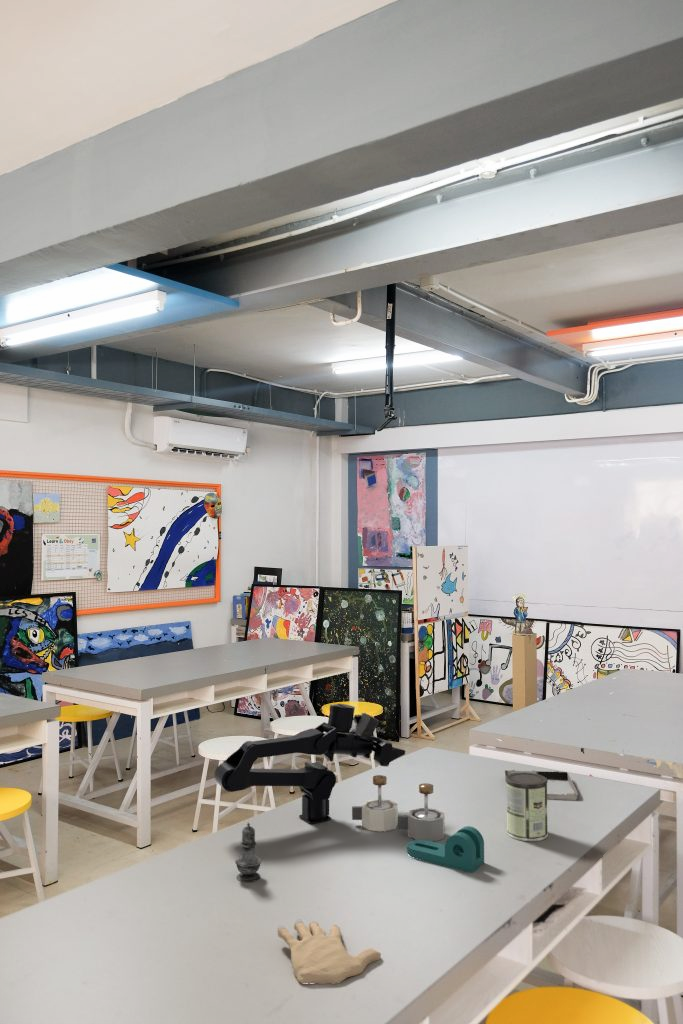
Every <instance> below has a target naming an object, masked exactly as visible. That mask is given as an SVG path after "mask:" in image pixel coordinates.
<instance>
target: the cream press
mask: <svg viewBox="0 0 683 1024" xmlns="http://www.w3.org/2000/svg"><path fill="white" fill-rule="evenodd" d="M372 802H378V798H375V799H370V800H364V802H363V804H361V805H359V806H356V805H355V806H354V805H353V806H351V820H352V821H354V820H355V821H361V827H363V828H364V829H366V830H368V831H370V830H372V831H373V832H382V831H384V832H388V831H392V830H391V829H393V830H395V829H396V828H397V827H398V824H397V823H398V811H399V809H398V808H399V807H398V803H396V802H394V801H392V800H390V799H381V802H386V803H389V804H390V809H385V810H376V809H370V808H369V804H370V803H372ZM394 828H395V829H394ZM387 830H388V831H387ZM372 831H371V832H372Z"/></svg>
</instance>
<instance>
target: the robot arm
mask: <svg viewBox="0 0 683 1024" xmlns="http://www.w3.org/2000/svg"><path fill="white" fill-rule="evenodd" d="M355 708H356V707H355V706H354V705H349V704H344V703H337V704H336V703H335V704H330V705H329V716H328V719H327V720H328V721H327V722H325V721H323V722H322V723H320V724H319V725H317V726H316V727H313V728H309V729H305V730H303V731H299V732H298V733H297V734H294V735H291V736H285V737H276V738H275V737H274V738H268V739H261V740H253V741H252V740H247V741H245V742H244V743H242V745H241V746H240V747H239V748H238V749H237V750H236V751H234V752H233V753H231V754H230V755H229V756H227V758H226V759H225V761H223V762H222V763H220V764H219V765H218V766H217V767H216V769H215V771H214V773H213V774H214V777H213V778H214V780H215V782H216V783H217V784H218V785H219V786H220V787H221V788H223V790H225V791H226V792H228V793H234V792H238V791H244V790H247V789H249V788H251V787H299V790H300V792H301V793H302V794H303V795H302V796H301V808H302V809H301V814H299V815H298V817H299V818H300V819H302V820H304V821H305V822H307V823H308V824H310V825H313V824H317V823H323V822H326V821H331V820H332V817H331V816H330V797H331V796H332V795H331V794H332V791H333V788H335V785H336V783H337V776H336V774H335V772H334V771H332V770H330V769H329V768H328V767H327V766H325V765H324V764H322V763H320V762H319V761H315V762H308V761H304V767H302V768H299V769H297V768H295V769H294V768H293V769H292V768H291V769H290V768H253V766H254V763H256V761H257V760H258V759H262V758H268V757H275V756H276V757H277V756H283V755H289V754H291V755H292V754H304V755H305V754H306V755H311V756H312V755H314V756H315V755H316V756H322V755H323V756H324V758H325V759H326V761H329V762H331V763H332V762H333V761H334V756H335V755H345V756H351V757H352V758H357V757H363V758H366V759H371V758H370V757H371V754H372V753H373V752H374V754H373V760H374V762H375V763H376V764H378V765H379V766H380V767H386V768H387V767H389V766H390V763H391V762H393V761H395V760H397V759H399V758H400V757H402V756H405V755H406V750H405V749H402V748H398V747H394V746H393V744H392V743H391V742H390V741H388V740H385V739H383V738H380V737H376V736H374V735H373V734H374V732H375V730H376V728H377V726H379V724H380V720H379V719H377V718H375V717H374V716H373V715H370V714H369V713H366V712H361V714H355V711H356V710H355ZM353 723H355V725H354V726H355V727H354V728H353ZM351 729H352V730H351ZM348 731H349V732H348Z"/></svg>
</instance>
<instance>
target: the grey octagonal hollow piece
mask: <svg viewBox="0 0 683 1024" xmlns="http://www.w3.org/2000/svg"><path fill="white" fill-rule="evenodd" d="M418 811H424V807H421V808H415V809H411V810H409V811H408V814H407V815H398V824H397V830H399V831H400V830H401V831H403V830H405V831H407V836H408V835H409V836H410V837H409V836H408V837H409V838H411V837H412V838H414V839H415V840H427V841H431V842H437V841H440V840H444V837H445V834H446V833H445V832H446V831H445V829H446V828H445V827H446V826H445V812H443V811H442V810H441V811H440V810H438V809H436V808H429V807H428V811H432V812H435V813H437V818H435V819H431V820H429V819H418V818H416V817H415V813H416V812H418ZM412 838H411V839H412ZM414 839H413V840H414Z"/></svg>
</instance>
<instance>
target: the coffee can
mask: <svg viewBox="0 0 683 1024" xmlns="http://www.w3.org/2000/svg"><path fill="white" fill-rule="evenodd" d="M548 780H549V779H547V778H546V777H544V776H542V775H539V774H534V773H513V774H509V775H508V776H506V779H505V782H506V781H507V785H506V834H507V835H508V836H509V837H510V838H512V839H514V840H516V841H523V842H540V841H543V840H545V839H547V838H548V836H549V834H548V799H547V794H548V782H549V781H548Z"/></svg>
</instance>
